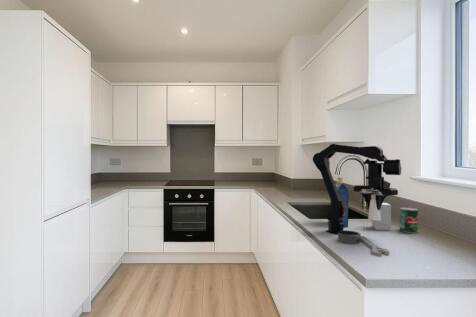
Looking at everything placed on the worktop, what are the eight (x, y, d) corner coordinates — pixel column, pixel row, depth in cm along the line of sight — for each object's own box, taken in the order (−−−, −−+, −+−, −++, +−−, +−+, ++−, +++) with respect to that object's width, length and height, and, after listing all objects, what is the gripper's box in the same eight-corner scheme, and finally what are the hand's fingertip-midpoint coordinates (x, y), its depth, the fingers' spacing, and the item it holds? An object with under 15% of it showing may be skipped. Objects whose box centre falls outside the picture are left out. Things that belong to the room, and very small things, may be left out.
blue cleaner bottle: (336, 226, 160) (336, 178, 160) (331, 221, 172) (331, 176, 172) (348, 227, 160) (348, 178, 159) (342, 222, 172) (342, 176, 171)
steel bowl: (333, 240, 135) (334, 232, 135) (347, 237, 139) (347, 229, 139) (350, 245, 127) (350, 236, 127) (364, 242, 132) (364, 233, 132)
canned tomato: (405, 228, 157) (405, 206, 157) (421, 231, 150) (421, 209, 150) (396, 230, 153) (396, 208, 153) (412, 233, 146) (412, 210, 146)
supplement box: (391, 230, 152) (391, 204, 152) (375, 229, 154) (375, 204, 154) (387, 227, 160) (387, 202, 160) (371, 226, 161) (371, 202, 161)
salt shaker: (369, 217, 142) (369, 193, 142) (382, 219, 139) (382, 194, 139) (366, 219, 138) (366, 194, 138) (379, 221, 135) (379, 195, 135)
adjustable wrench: (357, 239, 139) (357, 235, 139) (372, 239, 138) (372, 235, 138) (373, 256, 114) (374, 251, 114) (392, 257, 113) (392, 252, 113)
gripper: (405, 175, 134) (405, 211, 134) (368, 172, 150) (368, 205, 151) (389, 175, 129) (389, 213, 129) (352, 173, 145) (352, 206, 145)
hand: (374, 209), depth 138 cm, fingers closed on salt shaker, 4 cm apart
